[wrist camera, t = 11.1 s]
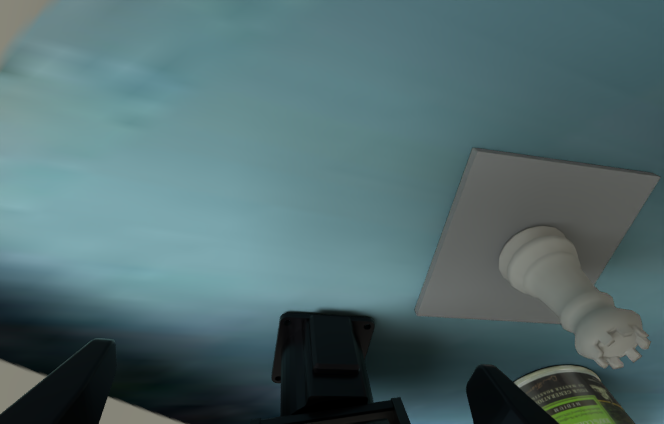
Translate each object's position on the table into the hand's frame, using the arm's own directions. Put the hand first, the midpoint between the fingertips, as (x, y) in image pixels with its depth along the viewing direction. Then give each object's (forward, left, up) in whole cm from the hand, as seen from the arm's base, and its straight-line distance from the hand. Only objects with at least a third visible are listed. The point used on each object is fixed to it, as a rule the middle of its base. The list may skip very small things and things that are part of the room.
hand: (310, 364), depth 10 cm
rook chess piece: (-4, -15, -13) cm, 20 cm away
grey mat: (-4, -16, -13) cm, 21 cm away
